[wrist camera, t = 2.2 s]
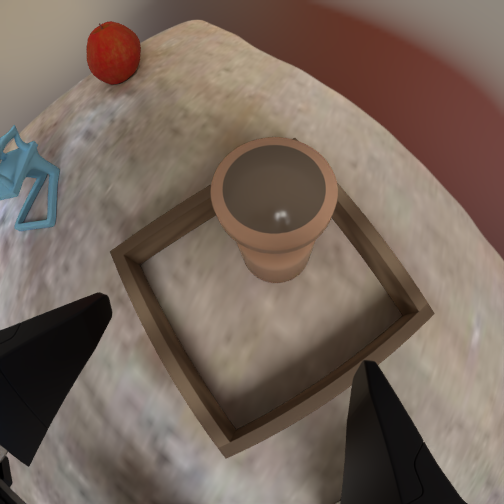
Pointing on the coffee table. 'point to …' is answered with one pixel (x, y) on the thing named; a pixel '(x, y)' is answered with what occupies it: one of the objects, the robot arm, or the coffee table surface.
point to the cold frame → (316, 395)
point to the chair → (27, 165)
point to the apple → (113, 52)
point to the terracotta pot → (274, 204)
